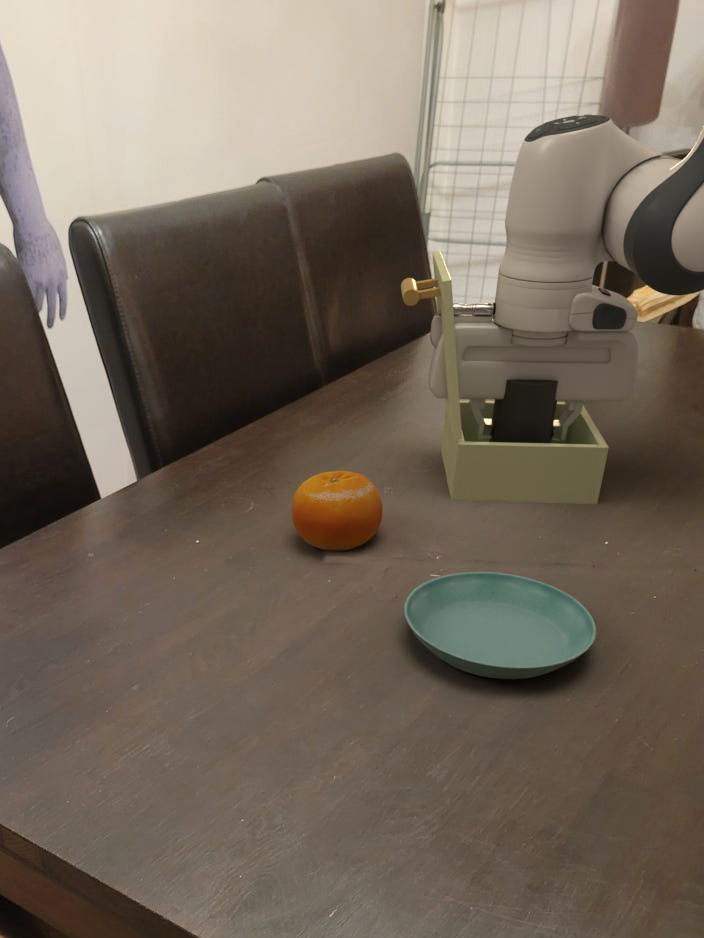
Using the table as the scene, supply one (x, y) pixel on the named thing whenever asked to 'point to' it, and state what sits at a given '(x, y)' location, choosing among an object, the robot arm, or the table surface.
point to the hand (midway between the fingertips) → (520, 438)
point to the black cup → (525, 412)
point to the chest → (524, 463)
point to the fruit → (337, 510)
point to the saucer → (499, 624)
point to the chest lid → (448, 329)
